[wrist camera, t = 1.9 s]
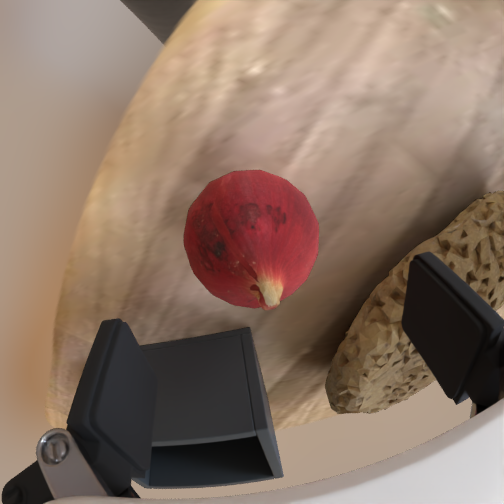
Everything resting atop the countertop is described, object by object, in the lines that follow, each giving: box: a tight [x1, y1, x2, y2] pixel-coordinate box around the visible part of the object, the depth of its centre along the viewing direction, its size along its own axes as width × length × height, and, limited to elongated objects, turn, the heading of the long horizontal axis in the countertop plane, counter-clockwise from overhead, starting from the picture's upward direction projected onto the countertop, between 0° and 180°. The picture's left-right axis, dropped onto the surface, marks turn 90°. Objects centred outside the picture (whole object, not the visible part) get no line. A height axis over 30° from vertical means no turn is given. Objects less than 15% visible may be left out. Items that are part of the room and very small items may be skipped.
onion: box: [184, 170, 319, 310], centre depth 13 cm, size 6×6×8 cm
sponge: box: [325, 191, 504, 414], centre depth 18 cm, size 13×8×20 cm
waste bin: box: [131, 327, 284, 489], centre depth 19 cm, size 11×9×8 cm
